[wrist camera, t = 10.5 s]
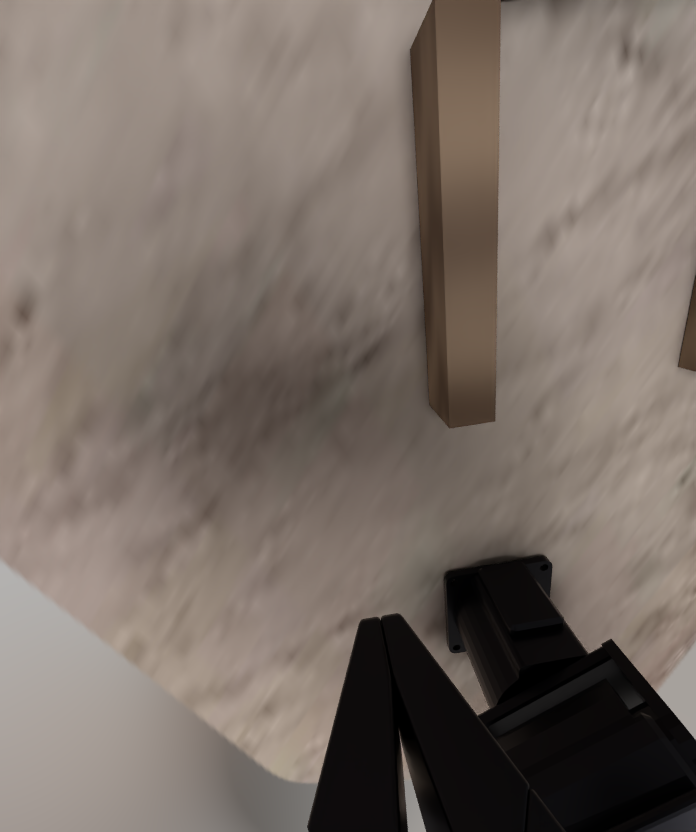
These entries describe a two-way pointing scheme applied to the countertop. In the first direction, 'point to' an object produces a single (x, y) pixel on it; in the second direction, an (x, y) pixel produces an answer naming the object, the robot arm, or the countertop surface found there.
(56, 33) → the countertop surface
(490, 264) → the walnut chute
